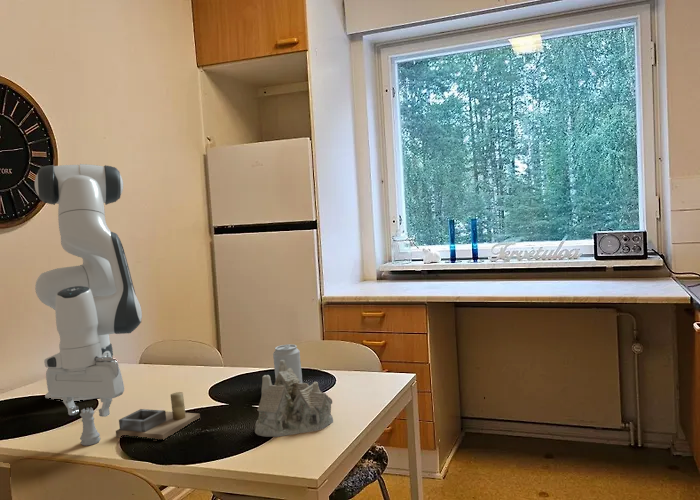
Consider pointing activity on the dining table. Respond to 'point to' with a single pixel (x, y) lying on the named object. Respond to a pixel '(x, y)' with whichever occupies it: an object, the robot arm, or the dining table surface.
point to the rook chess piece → (88, 428)
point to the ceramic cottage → (291, 406)
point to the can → (288, 359)
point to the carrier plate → (157, 420)
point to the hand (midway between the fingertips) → (89, 415)
